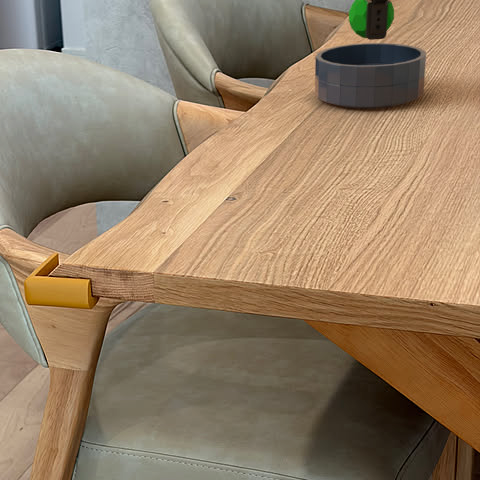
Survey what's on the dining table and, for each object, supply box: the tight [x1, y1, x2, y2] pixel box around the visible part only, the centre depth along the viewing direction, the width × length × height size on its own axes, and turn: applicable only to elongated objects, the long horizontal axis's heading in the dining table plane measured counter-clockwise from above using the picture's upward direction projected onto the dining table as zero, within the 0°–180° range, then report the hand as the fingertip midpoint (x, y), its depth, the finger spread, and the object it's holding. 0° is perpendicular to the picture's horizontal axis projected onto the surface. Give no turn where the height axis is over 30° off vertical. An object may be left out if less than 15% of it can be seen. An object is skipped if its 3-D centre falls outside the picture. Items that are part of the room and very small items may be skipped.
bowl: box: [314, 42, 427, 110], centre depth 106 cm, size 12×12×5 cm
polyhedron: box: [348, 0, 395, 39], centre depth 103 cm, size 5×5×5 cm
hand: (371, 33), depth 104 cm, fingers closed on polyhedron, 5 cm apart
